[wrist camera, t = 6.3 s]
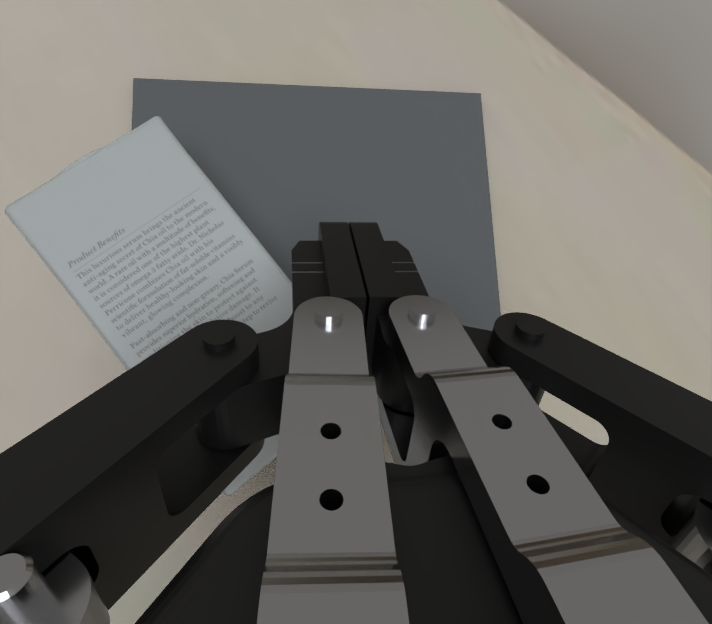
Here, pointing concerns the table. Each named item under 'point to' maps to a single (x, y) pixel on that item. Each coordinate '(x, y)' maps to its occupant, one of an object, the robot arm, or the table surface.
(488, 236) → the mat
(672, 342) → the table surface
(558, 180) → the table surface
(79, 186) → the skincare box
